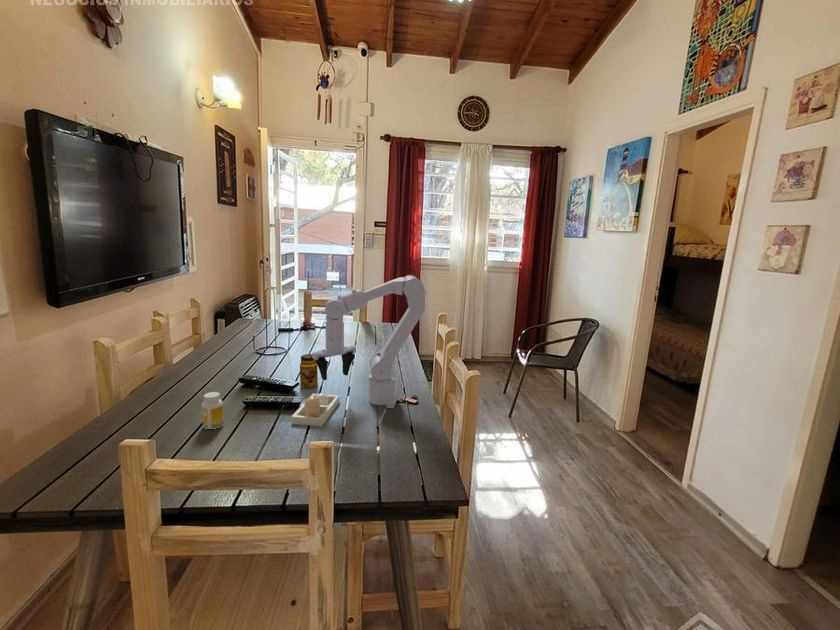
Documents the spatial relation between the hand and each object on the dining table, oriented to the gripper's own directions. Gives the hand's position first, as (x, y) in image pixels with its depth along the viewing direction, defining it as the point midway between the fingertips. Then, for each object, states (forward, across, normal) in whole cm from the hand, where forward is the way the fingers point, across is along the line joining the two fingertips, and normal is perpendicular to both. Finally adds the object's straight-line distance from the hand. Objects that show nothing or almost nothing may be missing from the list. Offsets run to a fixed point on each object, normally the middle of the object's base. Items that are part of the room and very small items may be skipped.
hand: (334, 376), depth 134 cm
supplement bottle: (+10, -35, +6) cm, 37 cm away
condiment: (+10, -1, +18) cm, 21 cm away
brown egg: (+9, -11, -7) cm, 16 cm away
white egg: (+9, -5, -1) cm, 10 cm away
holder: (+9, -8, -4) cm, 13 cm away
